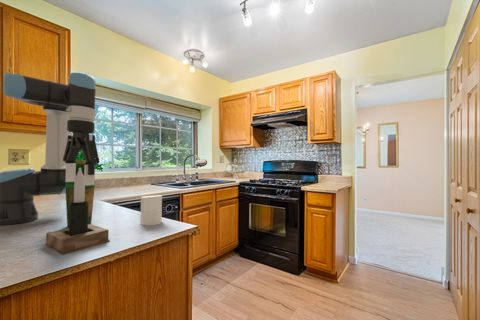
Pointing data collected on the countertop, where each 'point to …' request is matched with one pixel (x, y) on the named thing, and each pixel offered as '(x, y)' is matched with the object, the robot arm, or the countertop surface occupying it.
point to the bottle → (88, 192)
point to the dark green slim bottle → (78, 207)
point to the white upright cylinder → (151, 210)
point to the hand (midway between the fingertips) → (79, 183)
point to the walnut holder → (76, 239)
